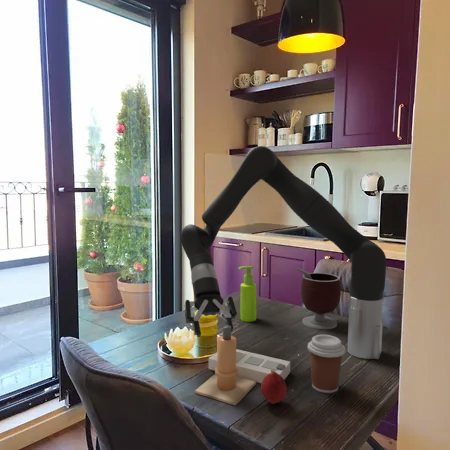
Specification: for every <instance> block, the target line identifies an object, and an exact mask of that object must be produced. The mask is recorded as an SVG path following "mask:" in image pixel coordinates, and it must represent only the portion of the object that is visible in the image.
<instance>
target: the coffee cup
mask: <svg viewBox="0 0 450 450" xmlns="http://www.w3.org/2000/svg"><path fill="white" fill-rule="evenodd" d="M306 347H307V348H306V349H307V350H308V352H309V353H310V357H309V358H310V370H311V372H310V373H311V386H312V388H313V389H314V390H316V391H317V392H319V393H324V394H333V393H336V392H337V391H338V390H339V385H340V384H339V383H340V377H341V367H342V360H343V356H344V355H345V354H346V347H345V346H344V345H343V343H342V340H341V339H340V338H338V337H336V336H334V335H331V334H317V335H314V336H312V338H311V340H310V341H309V342H308V343H307V346H306Z"/></svg>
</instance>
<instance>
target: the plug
mask: <svg viewBox="0 0 450 450" xmlns="http://www.w3.org/2000/svg"><path fill="white" fill-rule="evenodd" d="M216 347H217V349H216V350H217V351H216V353H217V367H216V368H215V371H214V373H215V374H216V375H217V387H218V388H219V389H220V390H224V391H229V390H233V389H234V388H235V387H236V375H237V374H238V368H237V367H236V363H237V362H236V349H237V338H236V337H235V336H234V335H232V332H231V326H229V325H226V324H225V325H223V326H222V335H219V336H218V337H217V345H216Z"/></svg>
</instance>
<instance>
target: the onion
mask: <svg viewBox="0 0 450 450" xmlns="http://www.w3.org/2000/svg"><path fill="white" fill-rule="evenodd" d="M260 391H261V394H262V396H263V398H265V399H266V400H267V401H269V403H270V404H271V405H275V404H278V403H279V402H282V400H284V398H285V397H286V395H287V391H288V388H287V384H286V380H285V379H283V378H282V377H281V376H280V375H279V374H277V373H276V372H275V370H271V373H269V374H268V375H266V376H265V377H264V379H263V381H262V383H260Z"/></svg>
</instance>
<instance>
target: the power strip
mask: <svg viewBox="0 0 450 450" xmlns="http://www.w3.org/2000/svg"><path fill="white" fill-rule="evenodd" d="M216 367H217V352H215V353H214V354H212V355H211V356H210V357H209V358H208V370H211V371H214V372H215V368H216ZM236 367H237V368H238V374H237V375H236V377H240V378H244V379H247V380H251V381H255V382H256V383H258V384H261V383H262V381H263V379H264V377H265V376H266V375H268V374H269V373H271V370H275V372H276V373H277V374H279V375H280V376H281V377H282V378H283V379H284V380H286V378H287V377H288V375H289V374H290V373H291V361H289V360H284V359H280V358H275V357H271V356H268V355H263V354H260V353H254V352H251V351H245V350H243V349H239V348H236Z"/></svg>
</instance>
